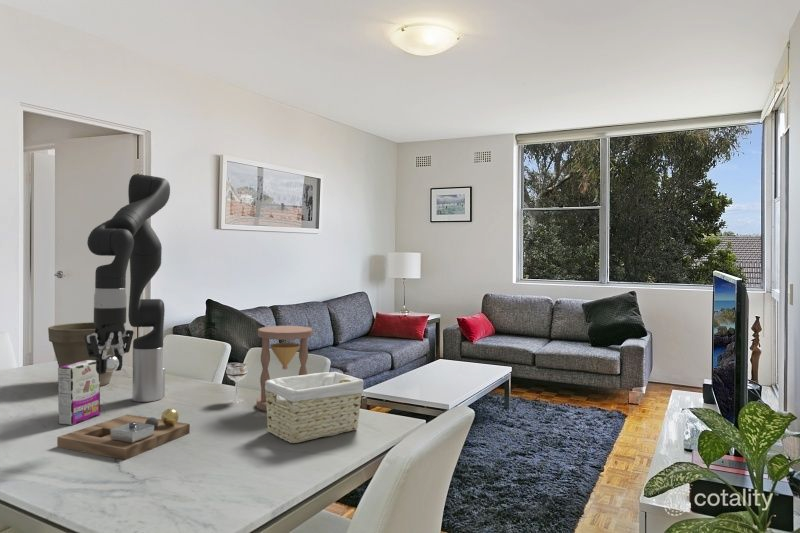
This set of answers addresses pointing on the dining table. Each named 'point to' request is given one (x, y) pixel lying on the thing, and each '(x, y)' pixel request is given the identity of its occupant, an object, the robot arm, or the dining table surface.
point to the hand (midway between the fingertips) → (109, 371)
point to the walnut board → (101, 444)
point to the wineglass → (236, 376)
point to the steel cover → (132, 432)
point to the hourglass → (282, 352)
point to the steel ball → (111, 363)
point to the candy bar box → (78, 392)
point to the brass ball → (170, 417)
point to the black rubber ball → (152, 421)
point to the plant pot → (74, 345)
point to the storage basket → (312, 405)
